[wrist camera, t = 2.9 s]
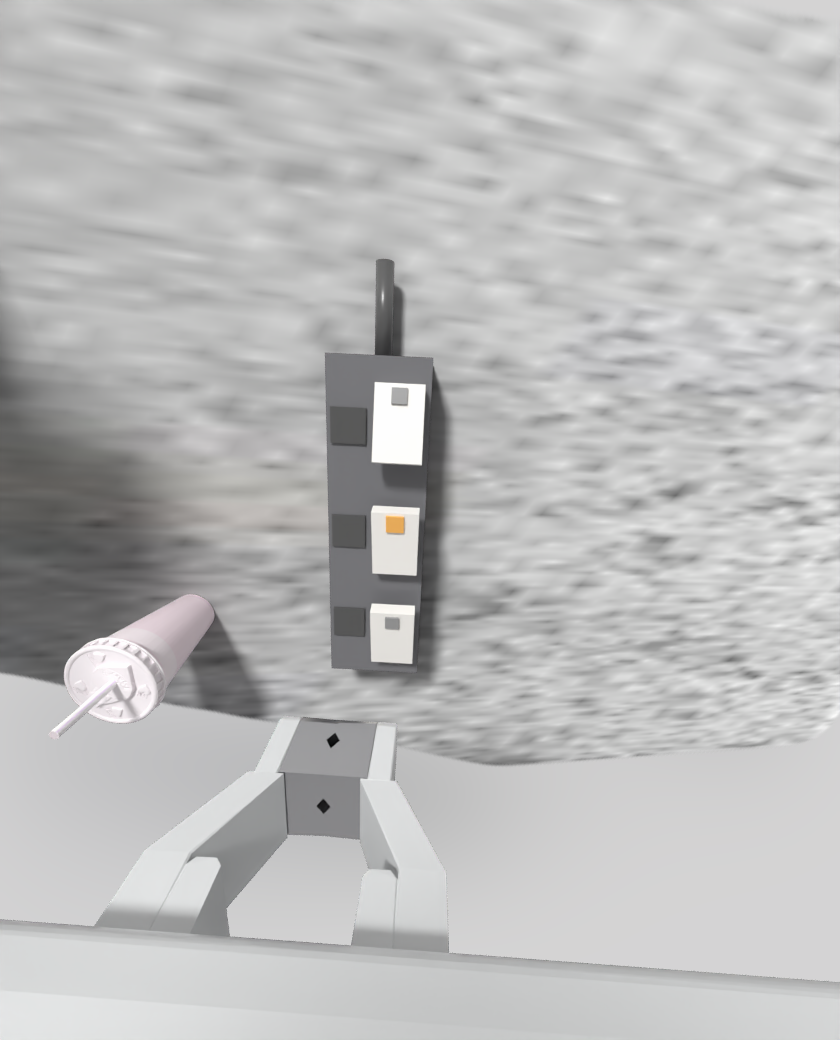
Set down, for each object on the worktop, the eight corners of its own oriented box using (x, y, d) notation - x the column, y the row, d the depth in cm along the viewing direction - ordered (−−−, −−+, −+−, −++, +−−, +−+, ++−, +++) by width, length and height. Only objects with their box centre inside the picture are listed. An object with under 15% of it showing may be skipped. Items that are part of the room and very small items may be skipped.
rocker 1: (376, 386, 25) (374, 381, 24) (425, 388, 25) (425, 383, 24) (373, 463, 26) (371, 462, 24) (421, 465, 26) (421, 464, 24)
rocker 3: (371, 603, 29) (369, 614, 28) (415, 605, 29) (414, 616, 28) (372, 651, 31) (370, 663, 30) (412, 653, 31) (412, 665, 30)
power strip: (337, 267, 27) (321, 243, 23) (437, 272, 27) (439, 248, 23) (342, 639, 36) (331, 669, 32) (418, 643, 35) (416, 674, 31)
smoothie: (243, 613, 35) (128, 742, 22) (202, 655, 36) (69, 801, 23) (185, 566, 34) (25, 672, 20) (145, 611, 35) (-30, 738, 22)
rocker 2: (373, 505, 26) (370, 513, 25) (419, 507, 26) (419, 515, 25) (374, 565, 29) (372, 574, 28) (416, 567, 29) (416, 576, 28)
